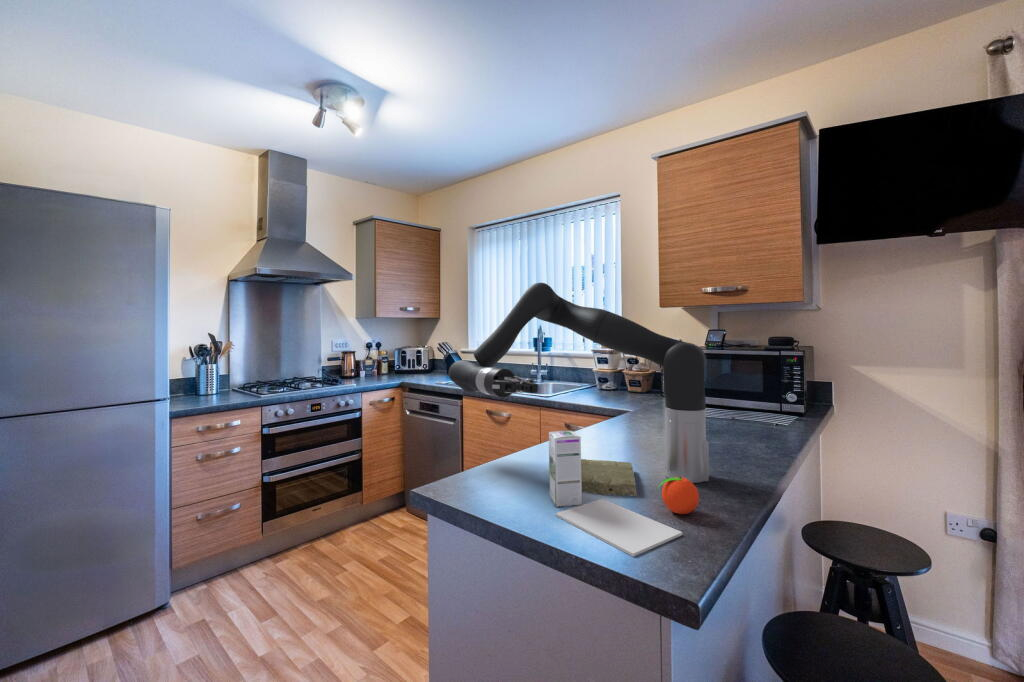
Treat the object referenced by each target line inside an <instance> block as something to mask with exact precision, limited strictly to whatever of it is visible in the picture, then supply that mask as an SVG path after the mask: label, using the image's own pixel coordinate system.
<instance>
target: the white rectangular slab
mask: <svg viewBox="0 0 1024 682" xmlns="http://www.w3.org/2000/svg"><path fill="white" fill-rule="evenodd" d="M554 515H555V517H557V518H558V517H559V519H560V518H561V519H560V520H562V519H563V521H564V522H566V521H567V522H566V523H568V522H569V523H568V524H570V525H572V526H573V527H576V528H577V527H578V529H580V530H582V531H583V532H585V533H587V534H590V535H591V536H593V537H595V538H597V539H599V540H600V541H602V542H605V543H606V544H608V545H610V546H612V547H614V548H615V549H617V550H620V551H621V552H624V553H626V555H629V556H631V557H633V558H634V557H637V556H638V555H640V554H642V553H645V552H648V551H649V550H651V549H655V548H657V547H659V546H660V545H661V546H662V545H663V544H665V543H668V542H669V541H672V540H674V539H676V538H678V537H681V536H683V531H681V530H678V529H676V528H673V527H671V526H668V525H666V524H663V523H661V522H659V521H656V520H654V519H652V518H649V517H647V516H644V515H642V514H640V513H638V512H635V511H633V510H629V509H628V508H626V507H622V506H620V505H618V504H616V503H613V502H611V501H608V500H606V499H604V498H601V499H600V498H599V499H597V500H594V501H592V502H588V503H585V504H582V505H578V506H573V507H571V508H568V509H564V510H562V511H558V512H555V514H554Z"/></svg>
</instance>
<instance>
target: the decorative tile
mask: <svg viewBox="0 0 1024 682" xmlns="http://www.w3.org/2000/svg"><path fill="white" fill-rule="evenodd" d="M634 473H635V472H634V469H633V464H632V462H630V461H629V462H628V461H627V462H626V461H615V460H603V459H602V460H599V459H585V458H583V459H582V458H581V479H582V491H588V492H587V493H589V492H592V493H591V494H593V493H601V494H600V495H605V494H618V495H617V496H625V495H632V496H631V497H638V494H637V485H636V478H635V474H634Z"/></svg>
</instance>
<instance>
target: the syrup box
mask: <svg viewBox="0 0 1024 682" xmlns="http://www.w3.org/2000/svg"><path fill="white" fill-rule="evenodd" d="M581 439H582V437H581V436H580V435H579V434H577V433H576V432H575V431H573V430H556V431H549V432H548V463H549V464H548V466H549V467H548V469H549V470H548V471H549V472H548V473H549V475H548V476H549V479H548V480H549V498H550V499H551V501H552V502H553V503H554V505H555V507H558V508H562V507H561V506H567V507H571V506H570V505H578V506H581V505H583V504H582V503H583V502H582V501H583V500H582V498H583V496H582V495H583V492H582V479H581V459H582V449H581V448H582V446H581V444H582V443H581ZM559 506H560V507H559Z"/></svg>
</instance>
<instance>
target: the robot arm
mask: <svg viewBox="0 0 1024 682" xmlns="http://www.w3.org/2000/svg"><path fill="white" fill-rule="evenodd" d="M534 318H536V319H538V320H540V321H543V322H546V323H551V324H552V325H553V324H554V325H557V326H560V327H562V328H565V329H568V330H570V331H573V332H574V333H576V334H577V335H580V336H581V337H583V338H585V339H588V340H589V341H591V342H593V343H596V344H598V345H600V346H602V347H605V348H607V349H609V350H612V351H616V352H619V353H622V354H626V355H630V356H634V357H638V358H642V359H646V360H647V361H648V360H649V361H650V362H652V363H654V364H656V365H658V366H661V367H663V370H662V371H663V373H662V374H663V394H664V403H665V406H664V409H665V412H664V413H665V416H664V417H665V420H664V422H665V423H664V425H665V428H664V431H665V434H664V435H665V440H664V441H665V452H664V453H665V458H664V459H665V467H664V469H665V471H664V472H665V474H664V475H665V477H667V479H668V478H674V477H682V478H686V479H688V480H689V481H691V482H692V483H693V484H698V483H703V482H709V481H710V480H709V479H710V477H709V475H710V474H709V472H710V470H709V467H710V466H709V465H710V463H709V462H710V461H709V460H710V459H709V458H710V457H709V456H710V455H709V452H710V451H709V450H710V446H709V445H710V444H709V441H708V440H707V438H706V434H707V433H706V427H707V426H706V421H707V420H706V419H707V418H706V411H707V410H706V409H707V408H706V407H707V406H706V401H707V399H706V391H705V390H706V389H705V386H706V385H705V382H706V381H705V373H706V372H705V371H706V366H707V355H706V353H705V352H704V351H703V349H702V348H701V347H700V346H698V345H697V344H694V343H691V342H687V341H683V340H679V339H676V338H672V337H668V336H666V335H662V334H659V333H657V332H655V331H653V330H651V329H649V328H647V327H645V326H643V325H642V324H639V323H637V322H635V321H633V320H631V319H629V318H626V317H624V316H622V315H619V314H616V313H615V312H614V313H613V312H611V311H609V310H605V309H601V308H597V307H587V306H581V305H578V304H575V303H573V302H571V301H569V300H567V299H565V298H563V297H562V296H560V295H558V294H557V293H556V291H554V289H553V288H552V287H551V286H550V285H549V284H548V283H545V282H536V283H534V284H531V285H530V286H529V287H528V288H527V289H526V290H525V291H524V293H523V294H522V295H521V297H520V298H519V300H518V301H517V303H515V305H514V307H513V308H512V309H511V310H510V312H509V313H508V315H506V317H505V318H504V319H503V321H501V323H500V324H499V325H498V326H497V328H496V329H495V330H494V331H493V332H492V333H491V334H490V335H489V336H488V337H487V338H486V339H485V340H484V341H483V342H482V343H481V344H480V346H478V347H477V348H476V349H475V350H474V352H473V357H474V359H475V360H476V362H477V363H478V364H479V365H477V364H475V363H473V362H471V361H468V360H465V359H464V360H463V359H461V360H460V359H459V360H457V361H454V362H453V363H452V364H451V365H450V367H449V368H448V378H449V379H450V381H451V382H453V383H454V384H455V385H457V386H458V387H459V388H460V389H462V390H463V391H464V392H465V393H468V394H472V393H475V392H479V393H483V394H485V395H488V396H492V397H496V398H501V399H506V398H509V397H510V396H511V395H512V394H517V393H521V394H522V393H527V394H538V392H539V385H538V383H536V382H535V379H534V378H533V377H530V378H527V380H526V379H525V378H524V377H520V376H519V375H518V376H517V375H515V374H514V372H513V371H512V370H510V369H508V368H503V367H494V366H495V365H496V364H497V363H498V362H499V361H500V360H501V359H502V358H503V357H504V356H505V355H506V354H507V353H508V352H509V351H510V349H511V348H512V346H513V344H514V343H515V341H516V339H518V338H517V337H518V336H519V334H520V333H521V331H522V330H523V328H524V327H525V326H526V325H527V324H528V323H529V322H530V321H532V320H533V319H534Z"/></svg>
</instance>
